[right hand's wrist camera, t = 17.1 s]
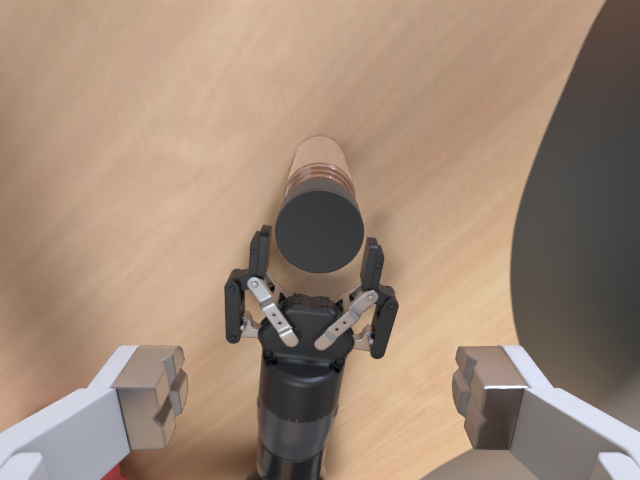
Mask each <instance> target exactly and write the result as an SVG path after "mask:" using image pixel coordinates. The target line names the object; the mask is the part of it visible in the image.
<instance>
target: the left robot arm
mask: <svg viewBox="0 0 640 480" xmlns="http://www.w3.org/2000/svg"><path fill="white" fill-rule="evenodd" d="M271 231H272V226H267V225H263V226H262V229H261V231H260V232H259V231H256V233H255V235H254V237H253V239H252V241H251V246H250V261H249V268H248V269H245V270H240V269H234V270H233V271H232V272H231V274H230V276H229V278H228V280H227V283H226V285H225V321H226V339H227V341H228V342H230V343H233V344H235V343H238V342H239V340H240V338H241V337H246V338H258V339H259V341H260V343H261V345H262V360H261V372H260V383H259V395H258V397H257V417H258V438H257V448H256V467H255V468H254V469H253V470H252V471H251V472H250V473H249V474H248V475H247V477H246V478H245V479H244V480H328V479H327V472H326V468H325V464H324V461H325V456H326V450H327V445H328V439H329V435H330V432H331V430H332V427H333V424H334V420H335V416H336V414H337V411H338V399H339V393H340V388H341V382H342V377H343V371H344V366H345V360H346V357H347V355H348V354H349V353H350V352H351V351H352V349H358V350H364V351H370V353H371V356H372V357H373V358H375V359H380V358H382V357H383V356H384V354H385V350H386V347H387V344H388V340H389V337H390V334H391V330H392V327H393V324H394V321H395V317H396V314H397V311H398V307H399V305H398V302H397V300H396V297H395V292H394V289H393V288H392V287H391V286H383V285H381V284H380V283H379V282H380V277H381V272H382V267H383V262H384V255H383V251H382V248H381V246H380V245H378V243H377V240H376V238H370V237H367V240H366V245H365V250H364V256H363V262H362V267H361V273H360V278H361V281H360V282H359V283H358V284H357V285H356V286H355V287H354V288H352V289H351V290H350V291H346V292H344V293H343V294H342V295H341V296H340V297H339V298H337V299H336V300H335V301H334V302H333V301H331V300H329V297H322V296H319V297H309V296H306V295H303V294H296V293H294V295H293V296H290V297H288V296H287V295H286V293H285V292H284V291H283V289H282V288H281V286H280V285H279V284H278V283H277V282H275V281H274V280H273V278H272V277H271V276H270V274H269V273H268V271H267V269H268V265H269V255H270V243H271ZM248 289H250V290H251V292H252V293H253V294H254V296H255V297H256V298H257V300H258V301H259V303H260V307H261V309H262V311H263V312H264V314H265V315H266V317H265V318H264V319H263V320H262V321H261V323H260V324H259V323H256V322H255V321H254V320H253V317H252V315H251V314H250V312H249V311H245V290H248ZM374 303H375V304H377V305H376V309H375V312H374V316H373V320H372V323H371V325H369V324H368V325H366V327H364V328H363V330H362V332H361V333H359V334H354V333H353V330H352V329H351V326H352V325H353V324H355V323H356V322H357V321H358V320H359V318H360V316H361V314H362V313H363V312H365V311H366V310H367V309H368V308H369V307H370V306H372V305H373V304H374Z"/></svg>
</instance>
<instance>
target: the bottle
mask: <svg viewBox="0 0 640 480" xmlns="http://www.w3.org/2000/svg"><path fill="white" fill-rule="evenodd" d="M315 178H324V179H330V180H333V181H336V182H338V183H340V184H342V185H343V186H344V187H346V188H347V189H348V190H349V191H350V192H351V193H352V195H353V196H354V198H356V195H355V189H354V185H353V182H352V179H351V176H350V172H349V169H348V166H347V163H346V160H345V157H344V154H343V151H342V149H341V147H340V146H339V145H338V144H337V143H336V142H335V141H334V140H332V139H331V138H328V137H325V136H314V137H311V138H309V139H307V140H305V141H304V142H303V143H302V144H301V145H300V146H299V148H298V149H297V152H296V154H295V158H294V161H293V164H292V167H291V170H290V173H289V177H288V180H287V183H286V186H285V190H284V199H285V197H286V195H287V194H288V193H289V191H290V190H291V189H292V188H294V187H295V186H296V185H298V184H300V183H301V182H304V181H306V180H310V179H315Z"/></svg>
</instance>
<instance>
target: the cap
mask: <svg viewBox="0 0 640 480" xmlns="http://www.w3.org/2000/svg"><path fill="white" fill-rule="evenodd" d="M275 235H276V241H277V244H278V247H279V249H280V251H281V253H282V254H283V256H284V257H285V258H286V259H287V260H288V261H289V262H290V263H291V264H293V265H294V266H295V267H297V268H299V269H301V270H304V271H307V272H311V273H328V272H332V271H336V270H338V269H340V268H342V267H344V266H345V265H347V264H348V263H349V262H351V261H352V260H353V259H354V257H355V256H356V255H357V253H358V252H359V250H360V248H361V246H362V243H363V238H364V225H363V221H362V217H361V214H360V211H359V207H358V204H357V202H356V200H355V198H354V196H353V195H352V193H351V192H350V191H349V190H348V189H347V188H346V187H344V186H343V185H342V184H340V183H338V182H336V181H333V180H330V179H324V178H315V179H310V180H306V181H304V182H301V183H300V184H298V185H296V186H295V187H294V188H292V189H291V190H290V191H289V193H288V194H287V195H286V197H285V199H284V200H283V203H282V205H281V209H280V212H279V215H278V219H277V222H276V229H275Z"/></svg>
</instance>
